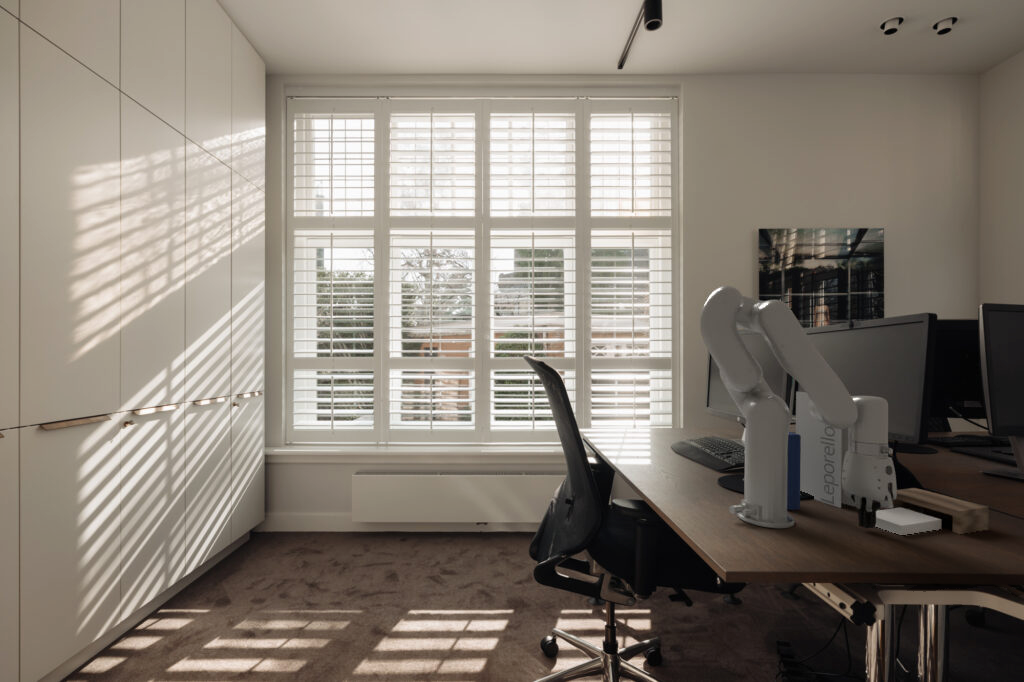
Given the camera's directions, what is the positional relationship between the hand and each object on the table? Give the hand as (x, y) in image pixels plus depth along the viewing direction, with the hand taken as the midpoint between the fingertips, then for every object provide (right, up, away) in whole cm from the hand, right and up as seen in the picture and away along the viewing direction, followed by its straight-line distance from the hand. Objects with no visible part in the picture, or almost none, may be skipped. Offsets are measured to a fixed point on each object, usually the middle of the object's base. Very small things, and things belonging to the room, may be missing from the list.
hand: (867, 526), depth 115 cm
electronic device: (-10, -1, +19) cm, 21 cm away
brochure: (+5, -2, +24) cm, 25 cm away
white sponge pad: (+11, -1, +4) cm, 12 cm away
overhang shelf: (+22, -2, +8) cm, 24 cm away
